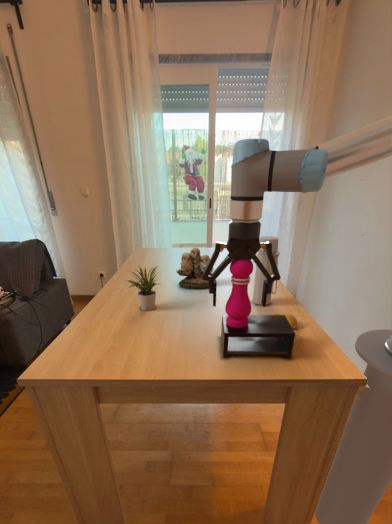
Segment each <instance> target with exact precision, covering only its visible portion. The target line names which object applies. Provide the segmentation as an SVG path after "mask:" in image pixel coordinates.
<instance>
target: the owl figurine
mask: <svg viewBox="0 0 392 524" xmlns="http://www.w3.org/2000/svg"><path fill="white" fill-rule="evenodd" d="M210 259H211V257H210V256H209V255H208V254H204V255H201V249H200V248H198V247H192V248H191V249H190V250H189V252H184V253H181V261H180V268H179V269H176V274H178V276H180V277H184V278H182V279H181V280H180V281H178V286H179V287H180V288H182V289H188V290H189V289H191V290H206V289H209V282H208V281H207V280H203V279H202V275H203V273H204V271H205V269H206V267H207V265H208V263H209V261H210ZM213 272H214V267H213V268H212V270H211V272H210V274H209V275H211V274H212V273H213Z"/></svg>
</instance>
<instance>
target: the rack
mask: <svg viewBox="0 0 392 524" xmlns="http://www.w3.org/2000/svg"><path fill="white" fill-rule="evenodd" d="M227 316H228V315H227V314H221V328H220V329H221V330H220V331H221V333H220V339H221V349H222V358H223V359H227V358H228V355H270V356H271V355H277V356H279V355H281V356H282V355H283V356H285V359H286V360H288V359H289V360H290V359H291V358H292V355H293V349H294V343H295V338H296V332H295V330H294V328H292V327H291V325H290V323H289V322H288V320H287V318H286V316H285V315H281V314H279V315H275V314H250V315H249V316H247V317H248V318H249V321H248V325H247V326H246V327H243V328H233V327H230V326H228V325H227V323H226V318H227Z"/></svg>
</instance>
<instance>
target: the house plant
mask: <svg viewBox="0 0 392 524" xmlns="http://www.w3.org/2000/svg"><path fill="white" fill-rule="evenodd" d="M158 267H159V265H157V266H154V267H151V268H150V269H149V271H148V273H147V268H146V267H144V269H142V267H141V266H140V265H138V269H139V270H138V269H135V271H136V272H137V273H138V274H139V275H138V274H137V273H135V272H133V271H130V270H127V272H128V273H129V275H132V276H134V278H135V279H136V280H137V281H135V280H132V279H124V281H125V282H127V283H129V284H131V285H129V286H128V290H129V289H131V288H134V287H136V289H138V290H139V291H137V293H136V294H137V297H138V301H139V305H140V308H141V310H142V311H152V310H154V309H155V307H156V297H157V292H156V290H154V289H153V288H154V286H156V285H158V283H157V280H156V279H155V278H156V277H157V276H158V273H159V271H157V270H158V269H157V268H158ZM159 285H161V286H162V284H161V283H159Z"/></svg>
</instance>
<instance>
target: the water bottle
mask: <svg viewBox="0 0 392 524" xmlns="http://www.w3.org/2000/svg"><path fill="white" fill-rule="evenodd" d="M259 241H260V243H266V242H267V241H269V242H270V243H271V244H272V254H273V257H274V260H275V263H276V265H277V268H278V265H279V258H280V257H279V256H280V255H281V253H280V251H279V237H277V236H270V235H264V236H260V238H259ZM256 256H257V257H258V259H259V260H260V261H261V263H262V264H263V266H264V267H265V269H266V270H267V271H268V273H269V274H270V276H271V275H273V272H272V269H271V266H270V264H269V261H268V258H267V255H266V252H264V251H263V249H262V248H260V250H259V251H258V252H257V253H256ZM278 269H279V268H278ZM264 280H267V279H266V277H265V276H264V275H263V273H262V272H261V270H260V269H259V268H258V266H257V265H256V264H255V274H254V284H253V292H252V302H253V303H254V304H255V305H257V306H262V304H261V299H262V291H263V283H264ZM274 283H275V289H274ZM277 288H278V280H276V281H274V282H273V283H272V290H271V293H270V294H267V299H266V306H267V305H269V304H270V303H271V301H272V295H275V294H276V292H277ZM273 290H274V292H273Z"/></svg>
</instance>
